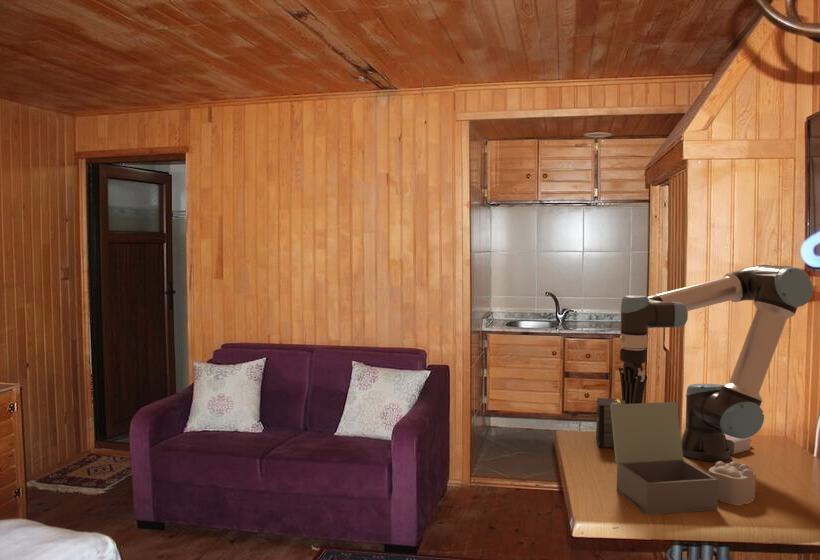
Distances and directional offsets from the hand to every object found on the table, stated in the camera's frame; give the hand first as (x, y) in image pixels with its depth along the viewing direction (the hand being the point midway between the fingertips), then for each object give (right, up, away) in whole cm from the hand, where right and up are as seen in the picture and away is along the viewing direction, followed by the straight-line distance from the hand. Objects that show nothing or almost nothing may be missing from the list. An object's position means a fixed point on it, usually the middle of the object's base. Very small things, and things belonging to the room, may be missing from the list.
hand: (631, 426), depth 199 cm
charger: (+44, -13, +27) cm, 53 cm away
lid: (+2, +1, -9) cm, 9 cm away
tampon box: (+3, -13, +31) cm, 33 cm away
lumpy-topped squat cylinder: (+23, -16, -15) cm, 32 cm away
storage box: (+3, -16, -18) cm, 24 cm away
